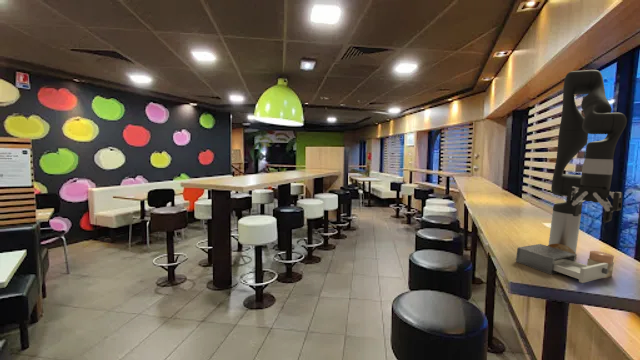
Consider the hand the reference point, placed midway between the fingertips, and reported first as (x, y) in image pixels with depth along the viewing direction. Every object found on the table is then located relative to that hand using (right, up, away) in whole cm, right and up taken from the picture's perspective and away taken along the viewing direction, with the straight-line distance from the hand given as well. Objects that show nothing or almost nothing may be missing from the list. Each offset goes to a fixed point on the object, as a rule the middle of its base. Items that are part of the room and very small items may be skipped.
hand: (590, 219), depth 101 cm
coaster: (+4, -15, +1) cm, 15 cm away
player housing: (-10, -18, +7) cm, 22 cm away
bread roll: (+1, -18, +15) cm, 24 cm away
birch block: (+4, -20, +1) cm, 20 cm away
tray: (-6, -18, -1) cm, 19 cm away
